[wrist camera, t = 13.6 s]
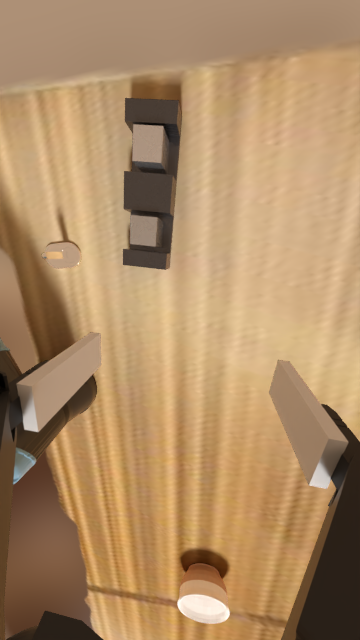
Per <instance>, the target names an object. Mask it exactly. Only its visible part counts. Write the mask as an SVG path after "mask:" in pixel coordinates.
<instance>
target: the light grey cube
mask: <svg viewBox="0 0 360 640" xmlns="http://www.w3.org/2000/svg"><path fill="white" fill-rule="evenodd" d="M162 235H163V221H162V220H160V219H159V218H157V217H147V216H137V215H131V216H130V244H136V245H145V246H154V247H162Z"/></svg>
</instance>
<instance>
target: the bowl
mask: <svg viewBox="0 0 360 640" xmlns="http://www.w3.org/2000/svg"><path fill="white" fill-rule="evenodd" d="M177 604H178V608H179V610H180V611H181V612H182V613H183V614H184V615H185V616H187V617H189V618H191V619H193V620H195V621H198V622H202V623H211V624H213V623H221V622H223V621H225V620H227V618H228V617H229V614H230V612H229V608H228V597H227V591H226V587H225V585H224V582H223V580H222V578H221V577H220V575H219V572H218V570H217V569H216V568H214V567H213V566H210V565H208V564H203V563H196V564H193V565H191V566H190V567H189V568H188V571H187V572H186V573H185V575H184V576H183V579H182V581H181V586H180V596H179V599H178V603H177Z"/></svg>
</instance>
